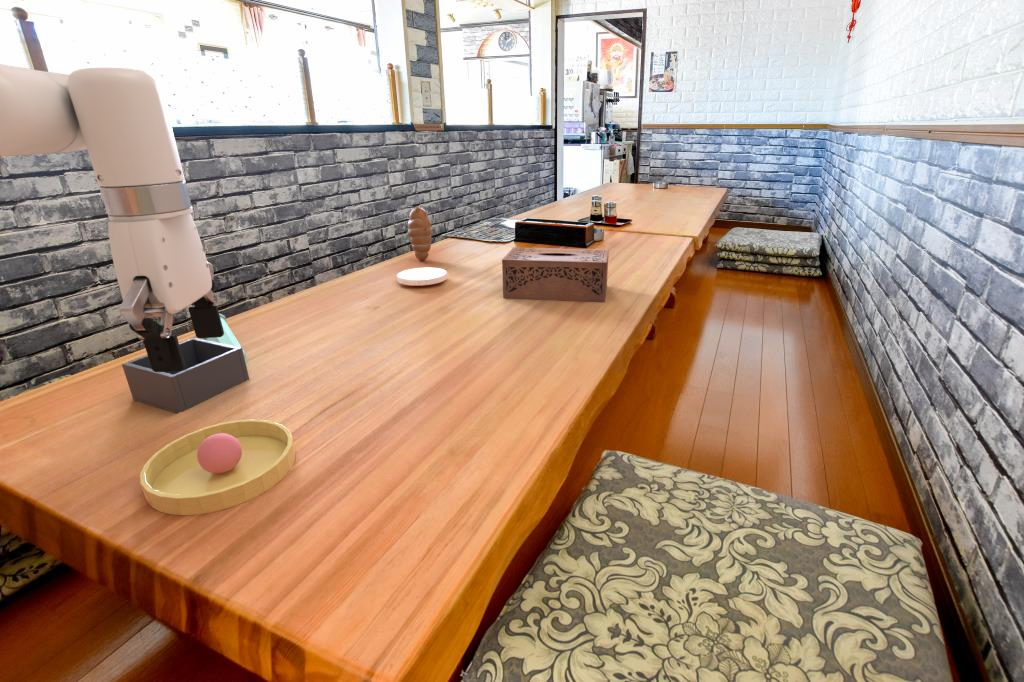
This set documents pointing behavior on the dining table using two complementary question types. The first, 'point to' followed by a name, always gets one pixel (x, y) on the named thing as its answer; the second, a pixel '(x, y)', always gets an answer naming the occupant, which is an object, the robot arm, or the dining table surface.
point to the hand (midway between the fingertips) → (191, 352)
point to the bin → (188, 376)
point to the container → (227, 336)
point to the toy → (219, 453)
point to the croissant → (420, 232)
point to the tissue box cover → (555, 274)
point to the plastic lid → (421, 276)
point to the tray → (192, 490)
